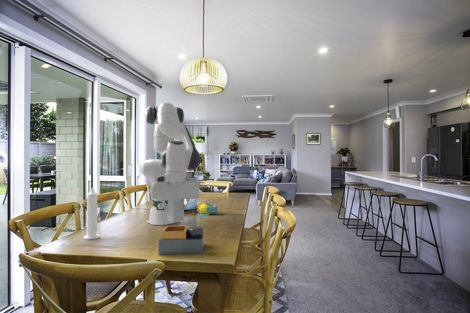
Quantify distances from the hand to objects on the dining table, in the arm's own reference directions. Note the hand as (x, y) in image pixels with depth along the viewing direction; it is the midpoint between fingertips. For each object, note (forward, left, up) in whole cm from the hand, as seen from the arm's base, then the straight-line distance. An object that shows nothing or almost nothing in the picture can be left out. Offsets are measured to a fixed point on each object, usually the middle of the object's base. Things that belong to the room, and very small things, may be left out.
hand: (175, 209), depth 112 cm
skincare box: (0, 0, -5) cm, 5 cm away
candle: (-19, -44, -18) cm, 51 cm away
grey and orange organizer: (0, +3, -18) cm, 18 cm away
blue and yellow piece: (-70, +12, -19) cm, 73 cm away
